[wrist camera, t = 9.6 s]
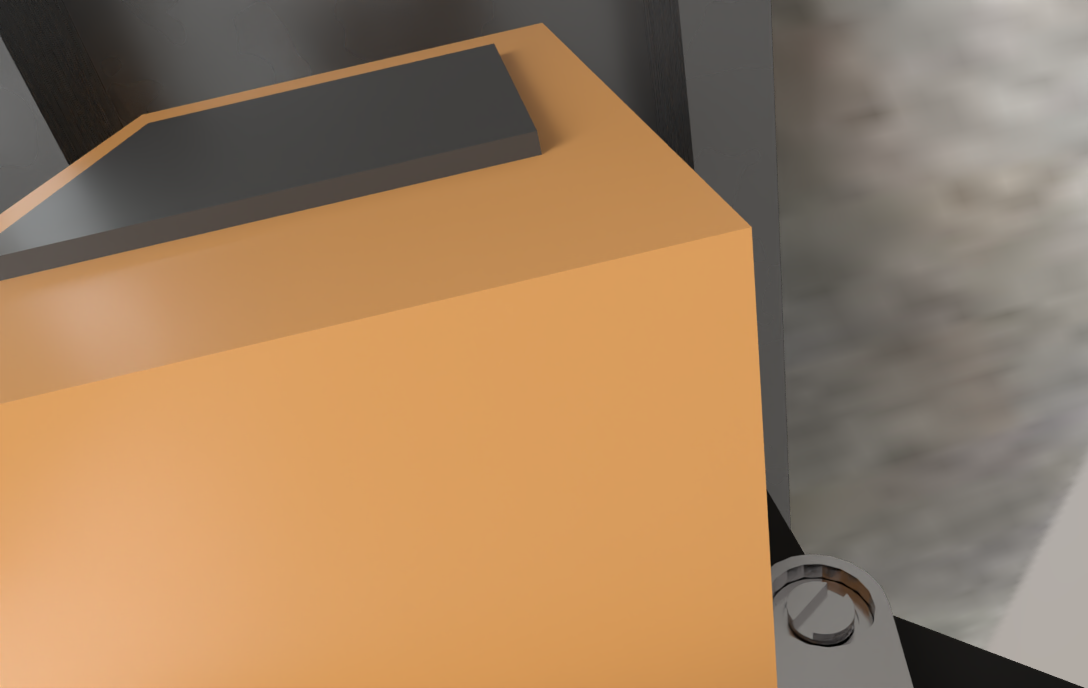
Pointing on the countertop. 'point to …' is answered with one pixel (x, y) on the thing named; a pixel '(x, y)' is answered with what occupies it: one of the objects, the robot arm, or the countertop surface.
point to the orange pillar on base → (384, 394)
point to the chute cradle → (396, 29)
